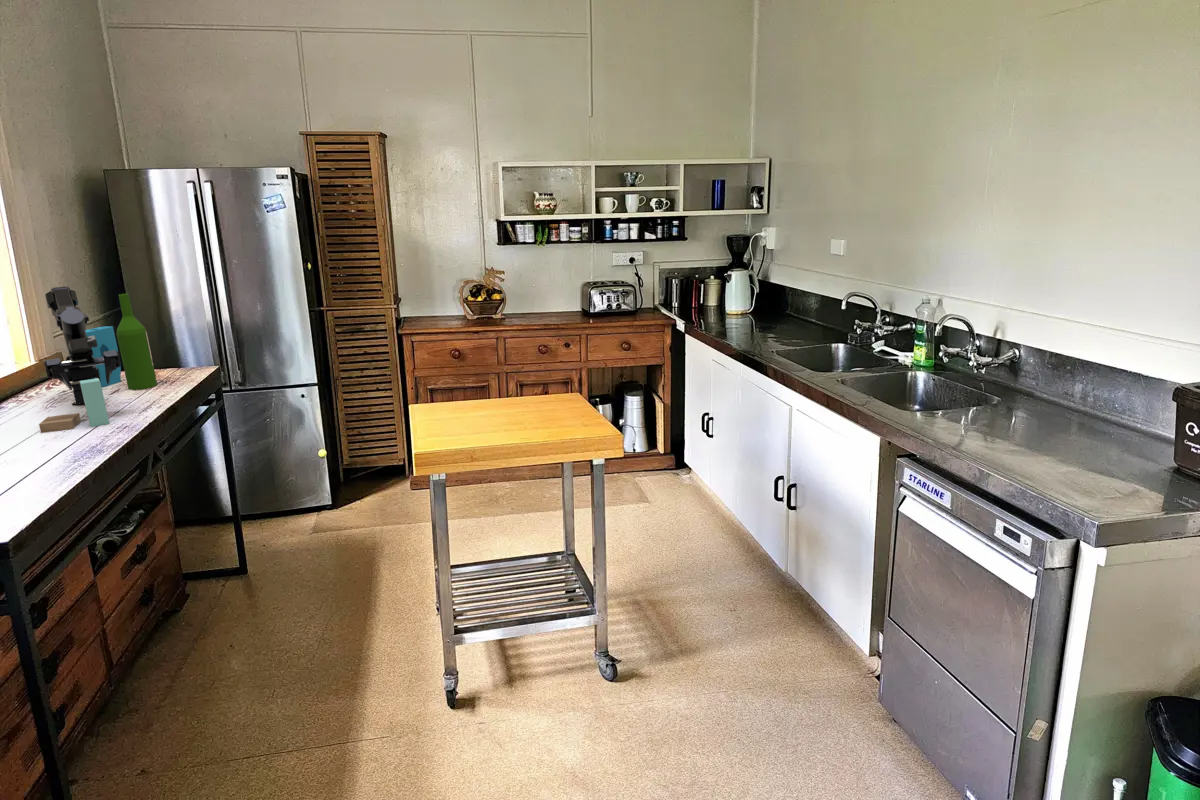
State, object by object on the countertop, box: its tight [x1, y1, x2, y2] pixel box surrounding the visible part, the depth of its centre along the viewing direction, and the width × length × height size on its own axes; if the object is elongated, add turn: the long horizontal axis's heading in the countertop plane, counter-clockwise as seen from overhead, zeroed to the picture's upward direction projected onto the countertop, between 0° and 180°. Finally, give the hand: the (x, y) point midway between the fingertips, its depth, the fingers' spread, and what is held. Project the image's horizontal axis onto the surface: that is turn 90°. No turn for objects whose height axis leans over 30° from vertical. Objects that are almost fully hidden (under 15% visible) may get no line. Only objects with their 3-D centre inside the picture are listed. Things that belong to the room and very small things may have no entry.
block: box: [85, 325, 122, 388], centre depth 273 cm, size 12×5×20 cm, turn 164°
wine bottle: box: [116, 293, 158, 391], centre depth 266 cm, size 9×9×32 cm
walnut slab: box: [38, 412, 82, 434], centre depth 224 cm, size 8×8×3 cm
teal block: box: [80, 378, 110, 428], centre depth 224 cm, size 5×5×13 cm
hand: (89, 386), depth 226 cm, fingers open, 9 cm apart
